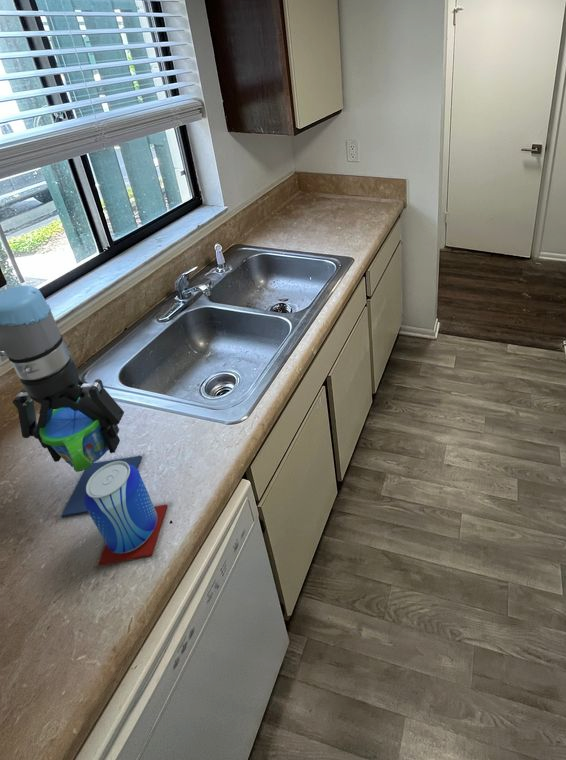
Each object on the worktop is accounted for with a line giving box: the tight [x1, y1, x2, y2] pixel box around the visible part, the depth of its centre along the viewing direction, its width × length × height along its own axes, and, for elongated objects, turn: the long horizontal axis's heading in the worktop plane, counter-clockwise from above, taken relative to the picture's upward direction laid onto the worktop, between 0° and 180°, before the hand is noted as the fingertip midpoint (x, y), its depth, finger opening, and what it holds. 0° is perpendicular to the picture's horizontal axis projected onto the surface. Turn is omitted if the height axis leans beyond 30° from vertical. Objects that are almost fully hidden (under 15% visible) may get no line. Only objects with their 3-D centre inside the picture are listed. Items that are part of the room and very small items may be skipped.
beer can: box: [84, 461, 157, 553], centre depth 79 cm, size 8×8×16 cm
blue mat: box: [61, 455, 143, 518], centre depth 91 cm, size 11×11×1 cm
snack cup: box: [39, 397, 109, 473], centre depth 85 cm, size 16×10×10 cm
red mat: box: [97, 504, 168, 567], centre depth 83 cm, size 9×9×1 cm
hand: (88, 451), depth 87 cm, fingers closed on snack cup, 9 cm apart
